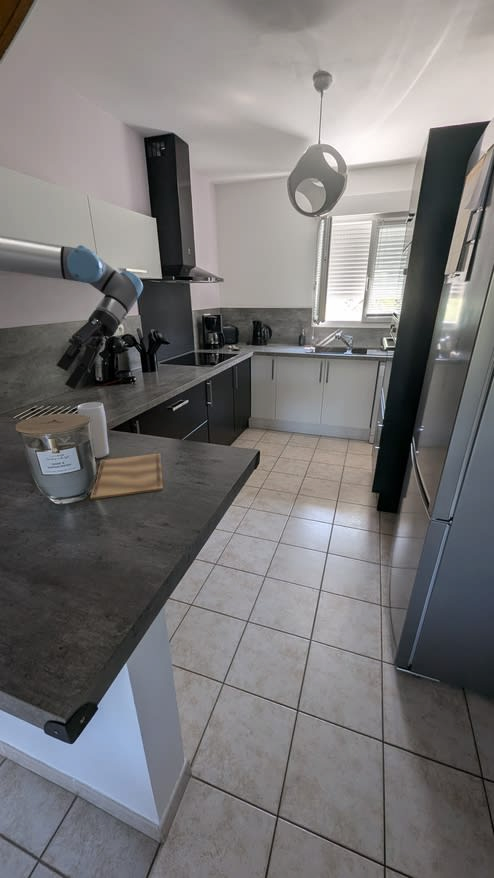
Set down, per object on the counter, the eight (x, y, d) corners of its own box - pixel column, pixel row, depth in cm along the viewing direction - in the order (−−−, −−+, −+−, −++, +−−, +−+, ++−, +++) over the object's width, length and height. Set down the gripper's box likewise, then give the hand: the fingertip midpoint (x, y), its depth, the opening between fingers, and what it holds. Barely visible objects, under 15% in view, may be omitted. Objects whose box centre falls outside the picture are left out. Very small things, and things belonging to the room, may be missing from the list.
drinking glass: (101, 461, 99) (91, 410, 93) (81, 458, 100) (70, 407, 95) (116, 451, 104) (108, 402, 99) (97, 449, 106) (88, 400, 101)
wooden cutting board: (101, 462, 98) (100, 459, 98) (160, 455, 102) (160, 453, 102) (90, 500, 80) (89, 497, 80) (162, 490, 84) (162, 487, 84)
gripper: (118, 300, 91) (73, 366, 84) (120, 344, 114) (84, 399, 107) (90, 284, 89) (42, 350, 82) (97, 332, 112) (60, 386, 106)
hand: (66, 378), depth 95 cm, fingers open, 13 cm apart
